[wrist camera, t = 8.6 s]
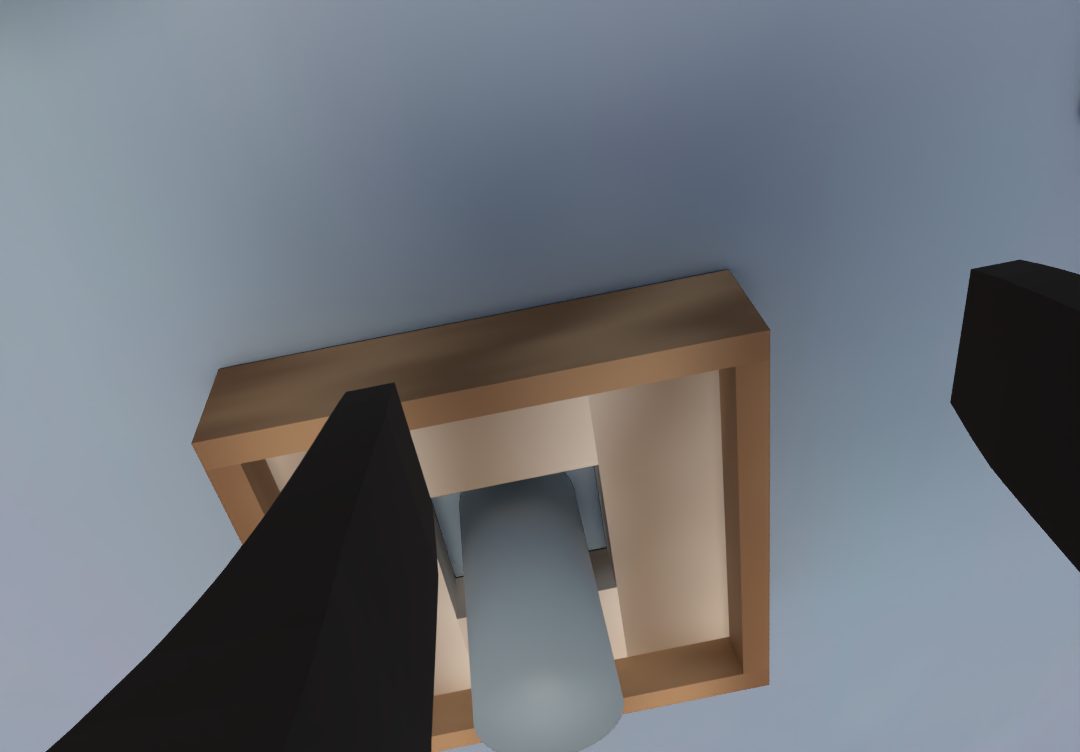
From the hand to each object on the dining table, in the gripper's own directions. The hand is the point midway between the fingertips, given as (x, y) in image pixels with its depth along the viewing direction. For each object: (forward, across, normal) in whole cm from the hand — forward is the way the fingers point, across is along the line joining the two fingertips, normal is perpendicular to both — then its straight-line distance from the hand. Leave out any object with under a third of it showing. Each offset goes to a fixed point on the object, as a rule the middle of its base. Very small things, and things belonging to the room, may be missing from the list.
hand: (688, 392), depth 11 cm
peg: (+10, +3, +10) cm, 15 cm away
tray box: (+10, +3, +10) cm, 15 cm away
